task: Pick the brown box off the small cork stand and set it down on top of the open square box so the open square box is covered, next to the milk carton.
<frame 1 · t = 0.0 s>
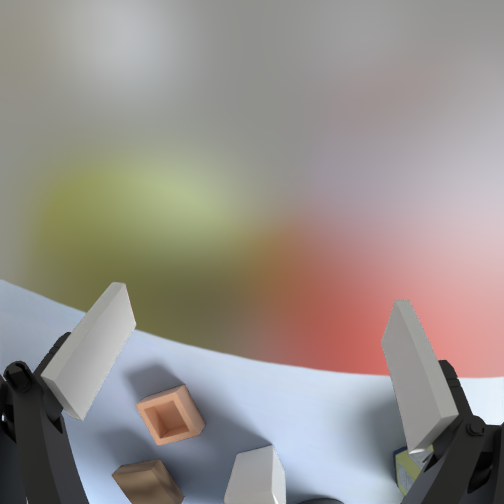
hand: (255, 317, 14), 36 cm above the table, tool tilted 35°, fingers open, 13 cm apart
open square box: (175, 410, 47), on the table
brown box: (152, 481, 42), point 3 cm above the table, touching stand
protein box: (426, 453, 41), on the table
milk carton: (261, 462, 45), on the table
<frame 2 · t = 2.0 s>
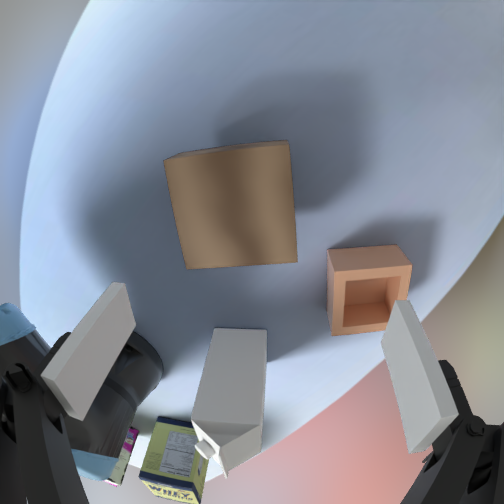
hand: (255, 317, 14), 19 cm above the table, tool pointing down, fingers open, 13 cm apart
open square box: (361, 278, 34), on the table
brown box: (238, 196, 28), point 3 cm above the table, touching stand
protein box: (185, 435, 56), on the table
milk carton: (241, 345, 41), on the table
candy bar box: (117, 422, 57), on the table
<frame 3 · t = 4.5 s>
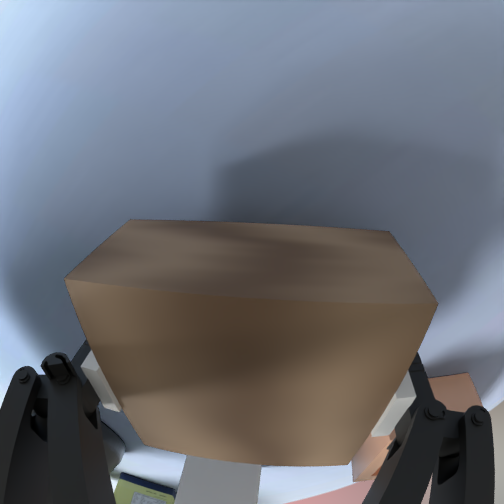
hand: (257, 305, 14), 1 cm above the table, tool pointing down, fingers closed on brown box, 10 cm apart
open square box: (407, 409, 20), on the table
brown box: (254, 328, 13), point 3 cm above the table, touching gripper, stand
protein box: (152, 488, 41), on the table
milk carton: (226, 452, 26), on the table
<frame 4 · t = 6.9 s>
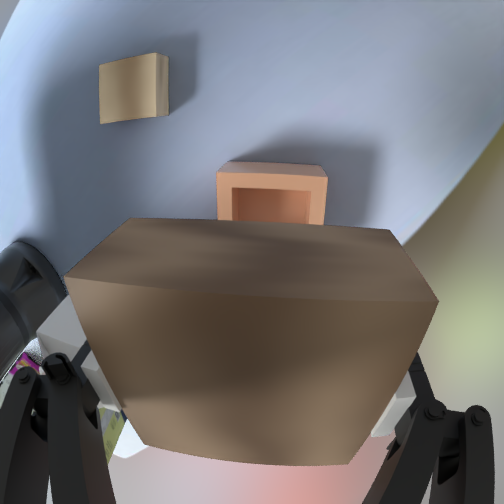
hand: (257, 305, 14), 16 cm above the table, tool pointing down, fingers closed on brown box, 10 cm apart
open square box: (272, 206, 28), on the table
brown box: (254, 327, 13), point 17 cm above the table, touching gripper
protein box: (100, 393, 50), on the table
milk carton: (138, 280, 35), on the table
stand: (140, 89, 24), on the table
candy bar box: (40, 369, 51), on the table
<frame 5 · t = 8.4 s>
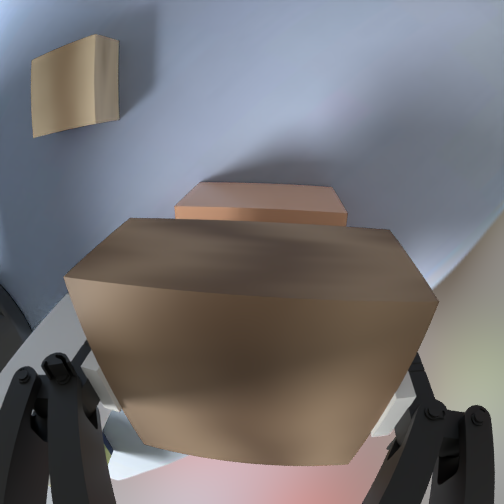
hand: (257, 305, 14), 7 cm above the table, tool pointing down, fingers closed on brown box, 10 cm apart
open square box: (264, 244, 21), on the table
brown box: (254, 327, 13), point 9 cm above the table, touching gripper
milk carton: (103, 325, 27), on the table
stand: (84, 87, 16), on the table
when the fingers open (5 cm above the table, at t = 9.3 s): brown box drops 2 cm, resting on open square box.
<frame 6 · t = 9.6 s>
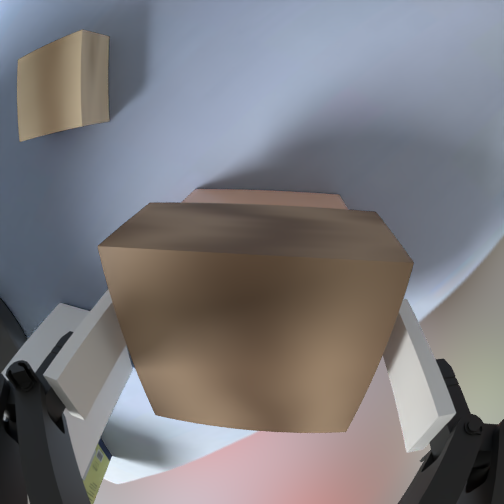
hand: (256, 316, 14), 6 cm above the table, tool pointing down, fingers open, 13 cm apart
open square box: (265, 255, 19), on the table
brown box: (258, 301, 15), point 5 cm above the table, touching open square box
protein box: (81, 431, 41), on the table
milk carton: (97, 335, 25), on the table
stand: (73, 87, 15), on the table
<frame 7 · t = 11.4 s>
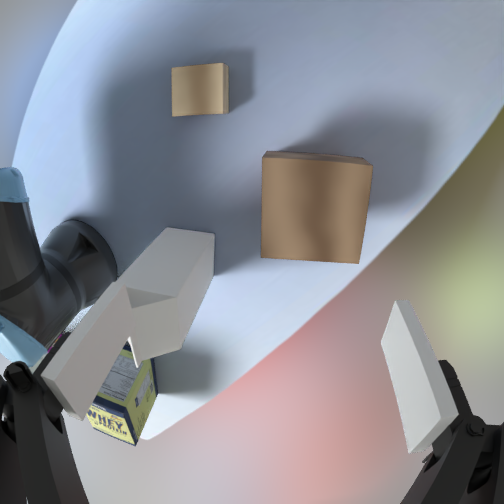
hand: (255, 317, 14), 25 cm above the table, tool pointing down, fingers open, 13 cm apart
brown box: (312, 199, 31), point 5 cm above the table, touching open square box
protein box: (135, 368, 58), on the table
milk carton: (190, 251, 42), on the table
stand: (204, 90, 31), on the table
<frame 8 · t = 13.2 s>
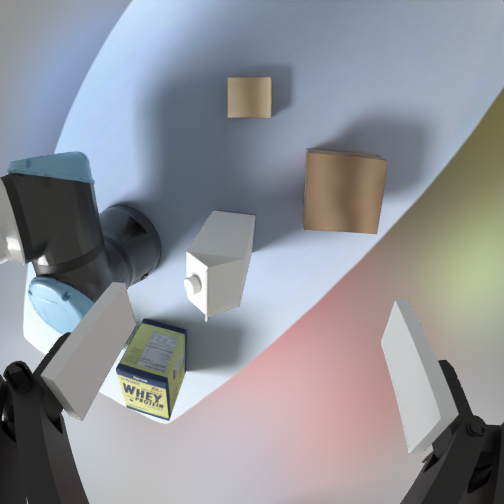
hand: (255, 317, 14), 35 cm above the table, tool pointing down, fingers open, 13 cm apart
brown box: (339, 186, 39), point 5 cm above the table, touching open square box
protein box: (166, 346, 66), on the table
milk carton: (233, 231, 50), on the table
stand: (251, 98, 40), on the table
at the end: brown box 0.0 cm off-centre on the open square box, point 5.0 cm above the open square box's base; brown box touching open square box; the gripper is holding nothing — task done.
